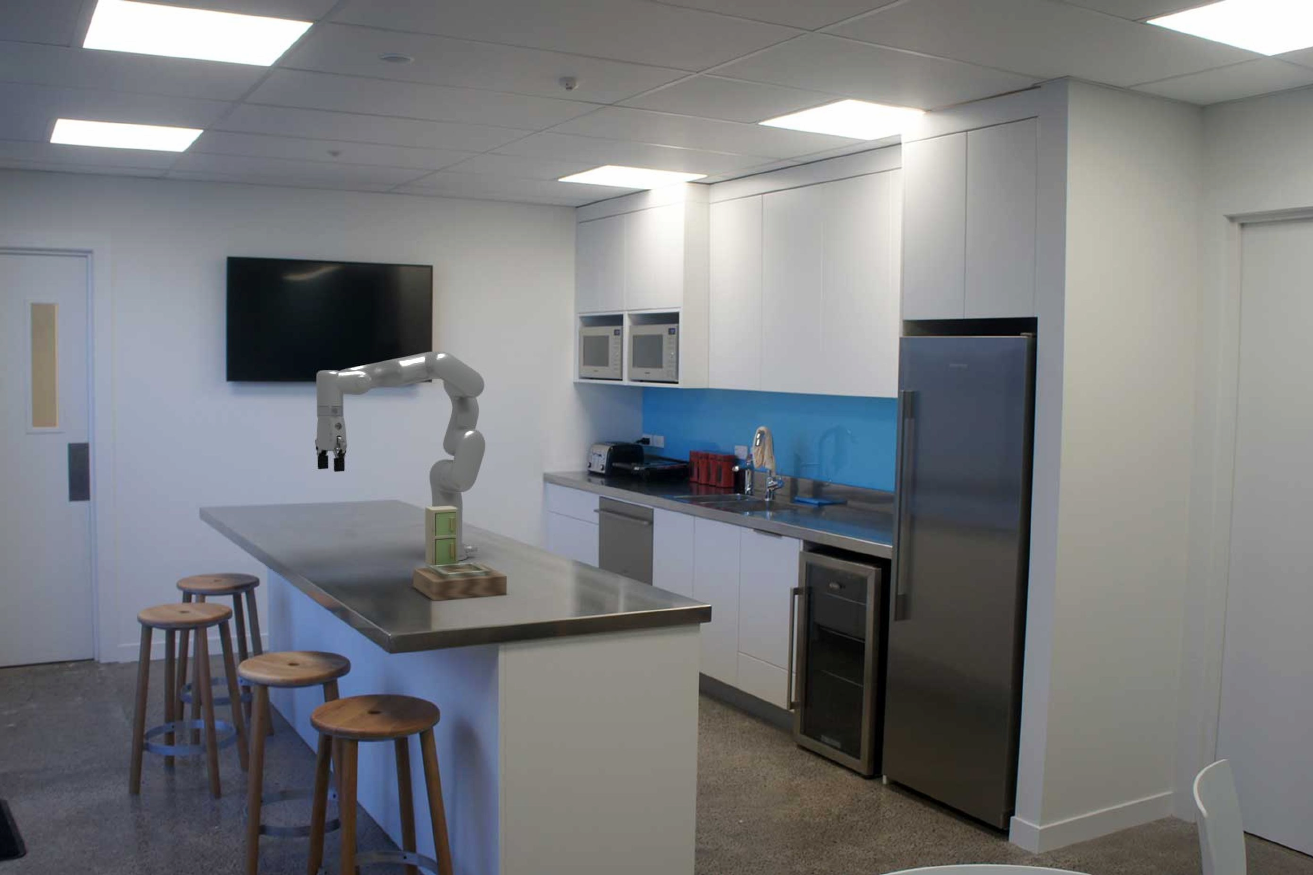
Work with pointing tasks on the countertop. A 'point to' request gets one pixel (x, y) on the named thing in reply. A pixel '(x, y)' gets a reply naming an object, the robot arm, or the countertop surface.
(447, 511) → the toy refrigerator
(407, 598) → the countertop surface
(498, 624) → the countertop surface
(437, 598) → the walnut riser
